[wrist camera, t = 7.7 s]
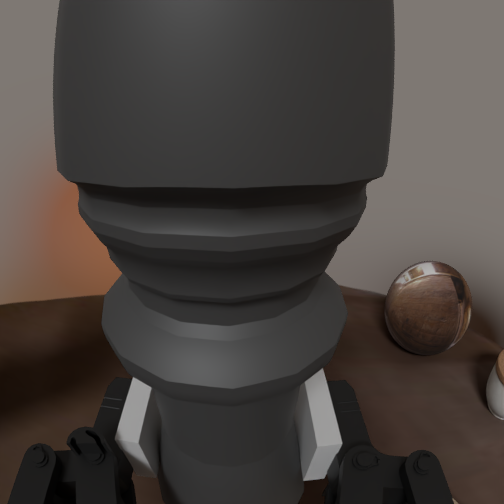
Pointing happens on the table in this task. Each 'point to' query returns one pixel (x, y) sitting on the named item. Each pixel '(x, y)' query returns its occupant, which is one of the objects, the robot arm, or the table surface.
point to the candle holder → (224, 208)
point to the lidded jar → (496, 388)
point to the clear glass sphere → (428, 308)
